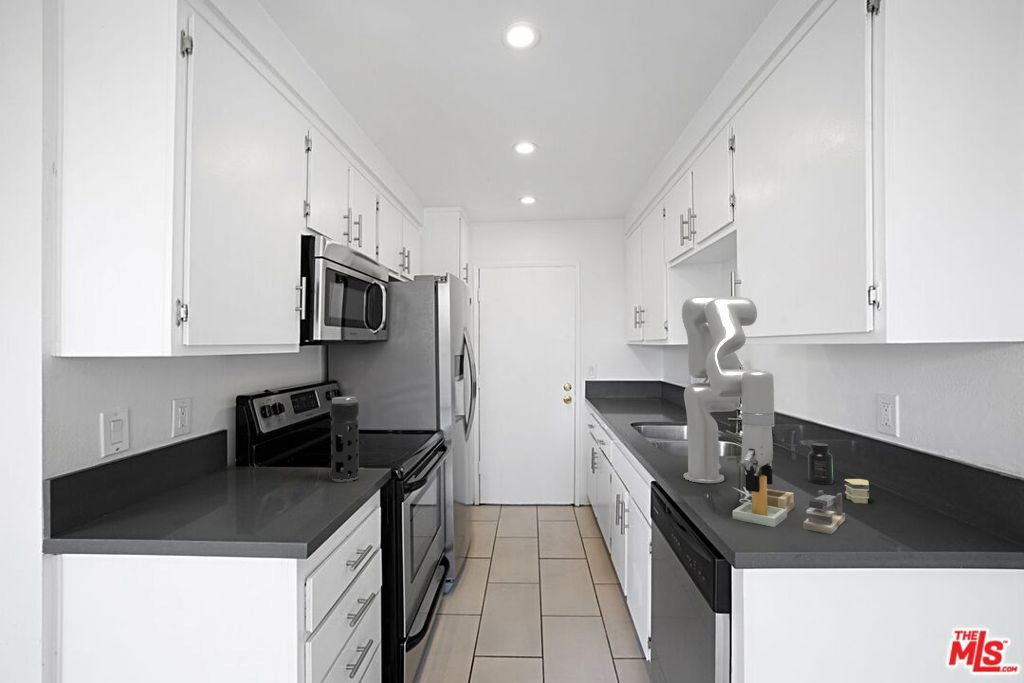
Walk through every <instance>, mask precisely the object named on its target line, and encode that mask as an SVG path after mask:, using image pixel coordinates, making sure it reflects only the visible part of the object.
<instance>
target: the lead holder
mask: <svg viewBox="0 0 1024 683" xmlns="http://www.w3.org/2000/svg"><path fill="white" fill-rule="evenodd" d="M794 494H795V493H794V492H791V491H790V492H789V491H784V490H776V489H770V488H767V506H771V507H777V508H783V509H787V514H789V512H790V511H792V510H793V509H794V508H795V503H794V502H795V500H794V499H795V496H794Z"/></svg>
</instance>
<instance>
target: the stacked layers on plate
mask: <svg viewBox="0 0 1024 683" xmlns="http://www.w3.org/2000/svg"><path fill="white" fill-rule="evenodd" d="M844 481H846V482H848V483H844V487H845V488H846V490H845V491H844V493H845V494H846V499H847V500H850V501H851V502H852V503H854V504H868V503H869V502H868V501H869V500H868V499H870V492H868V491H870V483H869V480H867V479H863V478H862V479H861V478H847V479H846V478H845V479H844Z"/></svg>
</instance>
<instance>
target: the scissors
mask: <svg viewBox="0 0 1024 683" xmlns="http://www.w3.org/2000/svg"><path fill="white" fill-rule="evenodd" d="M731 488H733V489H734V490H736V491H738V492H739V493H742V494H743V495H744V497H743V498H740V499H739V503H741V504H745V503H746V502H749V503H752V499H748V498H750V497H751V498H752V493H750V491H747V490H746V486H743V490H744V491H743V490H741V489H738V488H737V487H733V486H731Z"/></svg>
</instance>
